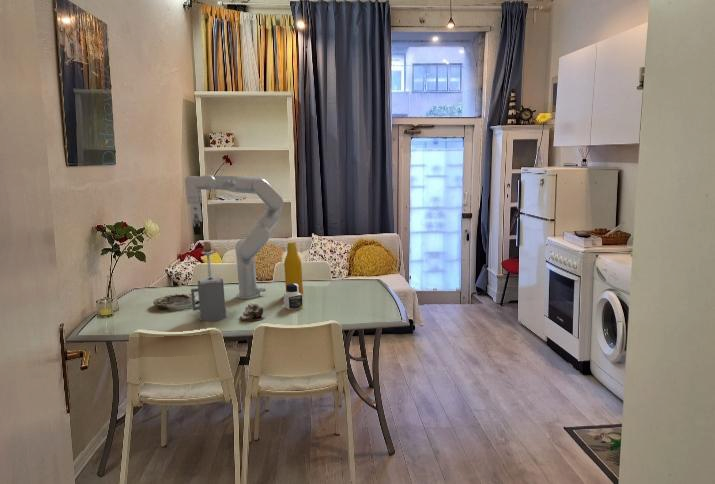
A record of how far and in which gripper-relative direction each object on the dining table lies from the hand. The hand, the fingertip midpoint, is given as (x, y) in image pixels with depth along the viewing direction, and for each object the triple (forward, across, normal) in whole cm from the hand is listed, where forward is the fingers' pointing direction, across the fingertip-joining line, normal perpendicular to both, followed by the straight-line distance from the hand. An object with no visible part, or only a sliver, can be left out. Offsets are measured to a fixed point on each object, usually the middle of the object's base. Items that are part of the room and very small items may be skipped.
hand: (197, 233), depth 286 cm
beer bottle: (+37, -8, -48) cm, 61 cm away
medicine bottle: (+37, -32, -42) cm, 65 cm away
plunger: (+23, -32, -3) cm, 40 cm away
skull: (+37, -41, -21) cm, 59 cm away
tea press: (+37, -32, -2) cm, 49 cm away
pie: (+38, -1, +14) cm, 40 cm away
